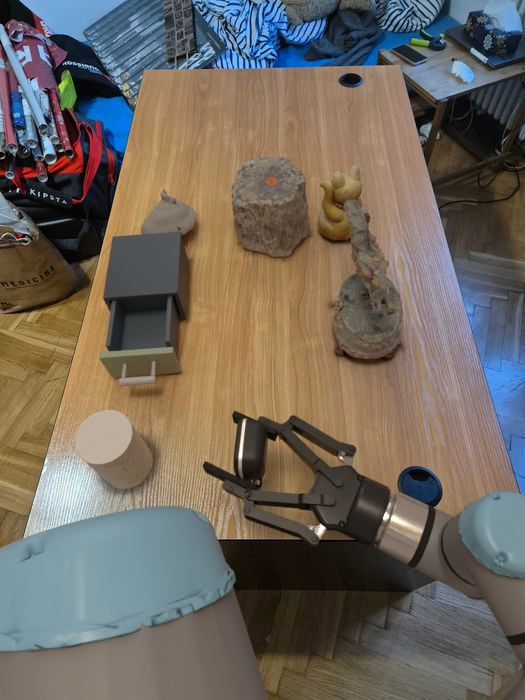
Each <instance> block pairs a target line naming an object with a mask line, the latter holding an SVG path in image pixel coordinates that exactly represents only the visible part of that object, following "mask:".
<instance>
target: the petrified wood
mask: <svg viewBox="0 0 525 700" xmlns="http://www.w3.org/2000/svg"><path fill="white" fill-rule="evenodd" d="M231 200H232V201H231V206H232V215H233V222H234V223H235V224H234V225H235V228H236V233H237V235H238V241H239V242H240V243H241V245H242V247H243V248H244V249H246V250H248V251H253V252H258V253H263V254H266V255H269V256H270V257H273V258H284V257H290V256H291V255H292V252H293V250H294V248H296V247H297V246H298V245H299V244H300V243H301V241H302V240H303V239H306V238H307V237H308V236H310V231H311V229H310V224H309V215H308V211H309V203H308V196H307V181H306V176H305V173H304V172H303V171H302V170H301V169H300V168H299V167H297V166H295V164H293V163H292V161H291V159H288V158H286V157H283V156H264V157H260V156H259V157H255V158H250V159H248V160H245V161H244V162H243V163H242V164H241V166H240V167H239V168H237V170H236V175H235V180H234V182H233V183H232V185H231Z"/></svg>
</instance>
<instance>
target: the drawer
mask: <svg viewBox="0 0 525 700" xmlns="http://www.w3.org/2000/svg"><path fill="white" fill-rule="evenodd" d="M179 322H180V321H179V308H178V305H177V302H176V299H175V296H174V295H173V296H159V297H146V298H133V299H119V300H112V305H111V312H110V311H109V318H108V328H107V333H106V339H105V348H106V350H107V351H100V352H99V360H100V362H101V363H102V365H103V366H104V368H105V369H106V371H107V372H108V374H109V376H110V377H111V378H119V379H118V384H119V386H120V387H132V386H143V385H156V384H157V383H158V379H157V376H156V375H162V374H163V375H165V374H177V373H178V374H179V373H181V368H182V367H181V365H180V362H179V359H178V342H179V341H178V338H179Z"/></svg>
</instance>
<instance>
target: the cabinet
mask: <svg viewBox="0 0 525 700" xmlns="http://www.w3.org/2000/svg"><path fill="white" fill-rule="evenodd" d="M110 244H111V245H110V252H109V256H108V257H109V258H108V262H107V263H108V264H107V269H106V270H107V271H106V276H105V282H104V290H103V294H102V299H103V301H104V303H105V305H106V307H107V309H108V311H109V313H110V312H111V305H112V300H119V299H133V298H146V297H159V296H173V295H174V296H175V299H176V302H177V305H178V308H179V322H183V321H187V320H188V319H187V317H188V291H189V258H188V253H187V249H186V246H185V241H184V238H183V235H182V234H181V231H180V232H167V233H154V234H142V233H140V234H129V235H116V236H112V238H111V243H110Z"/></svg>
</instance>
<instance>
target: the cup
mask: <svg viewBox="0 0 525 700" xmlns="http://www.w3.org/2000/svg"><path fill="white" fill-rule="evenodd" d="M74 448H75V451H76V454H77V455H78V457H79V458H80V459H82V461H84V462H85V463H86V464H87V465H88V466H89V467H90V468H91V469H93V471H95V472H96V473H97V474H98V475H99V476H100V477H101V478H102V479H104V480H105V481H106V482H107V483H108V484H109V485H110V486H112V487H113V488H115V489H119V490H129V489H132V488H135V487H137V486H138V485H140V484H141V483H144V481H145V480H146V479H147V478H148V476H149V475H150V474H151V471H152V469H153V464H154V458H153V453H152V451H151V449H150V447H148V445H147V443H146V442H145V441H144V439H143V437H142V436H141V435H140V433H139V432H138V430H137V429H136V428H135V427H134V425H133V423H132V421H130V419H129V417H127V416H126V415H125V414H124V413H122V412H120V411H118V410H114V409H105V410H99V411H97V412H95V413H93V414H90V415H89V416H88V417H86V419H85V420H83V421H82V423H81V424H80V426H79V427H78V429H77V431H76V433H75V437H74Z"/></svg>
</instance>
